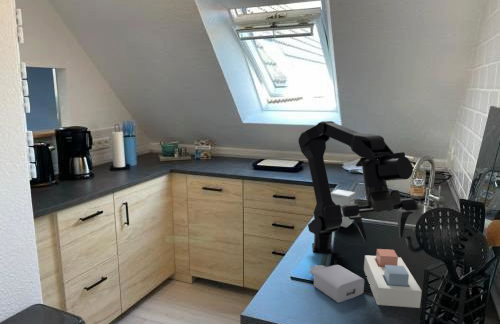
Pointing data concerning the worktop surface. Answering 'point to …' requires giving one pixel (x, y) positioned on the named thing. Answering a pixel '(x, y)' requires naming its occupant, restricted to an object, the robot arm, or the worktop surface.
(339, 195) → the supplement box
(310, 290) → the worktop surface
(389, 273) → the slate key
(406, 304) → the key console
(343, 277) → the charger
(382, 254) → the brick key
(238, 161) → the worktop surface
